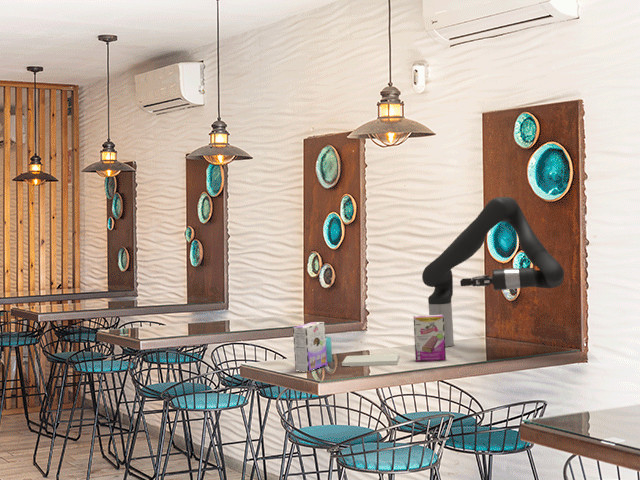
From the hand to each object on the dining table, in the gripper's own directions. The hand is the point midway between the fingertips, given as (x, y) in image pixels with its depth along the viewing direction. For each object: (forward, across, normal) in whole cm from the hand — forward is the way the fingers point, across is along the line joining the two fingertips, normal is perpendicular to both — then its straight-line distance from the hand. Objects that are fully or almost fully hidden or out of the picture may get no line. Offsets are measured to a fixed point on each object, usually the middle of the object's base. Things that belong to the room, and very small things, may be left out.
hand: (460, 282), depth 300 cm
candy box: (+56, -12, -27) cm, 63 cm away
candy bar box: (+13, 0, -28) cm, 31 cm away
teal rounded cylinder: (+55, +4, -26) cm, 61 cm away
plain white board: (+35, -1, -27) cm, 44 cm away
